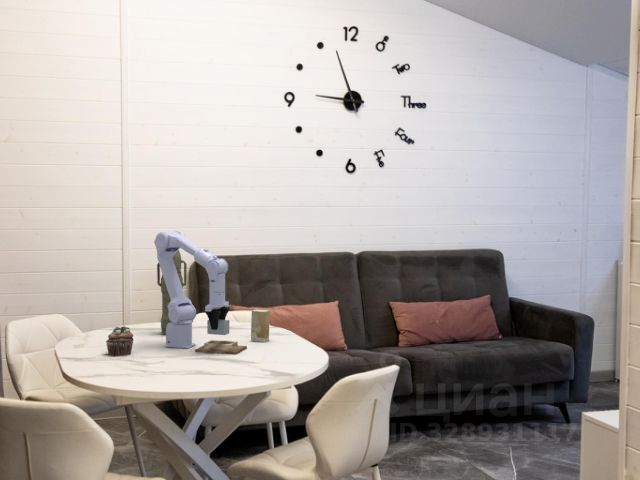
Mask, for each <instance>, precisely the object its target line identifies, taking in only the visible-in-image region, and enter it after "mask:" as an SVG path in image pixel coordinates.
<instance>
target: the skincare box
mask: <svg viewBox="0 0 640 480" xmlns="http://www.w3.org/2000/svg"><path fill="white" fill-rule="evenodd" d="M270 314H271V310H270V309H269V310H268V309H267V310H266V309H253V310H251V317H250V318H251V324H250V329H251V330H250V341H251V342H258V343H259V342H260V343H266V342H269V341H270V319H271V318H270V317H271V315H270Z"/></svg>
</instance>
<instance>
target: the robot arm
mask: <svg viewBox="0 0 640 480" xmlns="http://www.w3.org/2000/svg"><path fill="white" fill-rule="evenodd" d="M153 242H154V247H155V249H156V256H157V261H158V262H157V263H159V265H160V272H161V273H162V274H163V277H164V280H165V283H166V287H167V290H168V293H169V296H170V299H171V302H170V303H169V305H168V306H167V307H168V311H169V313H168V316H169V319H170V321H171V322H172V323H168V324H167V327H166V335H165V346H164V347H165V348H178V349H190V348H191V347H194V346H197V343H196V342H195V343H193V323H194V320H195V319H196V317H197V309H196V308H195V306H194V305H193V303H192V301H191V299H189V297H187V296H186V295H185V292H184V288H183V289H182V286H181V282H180V279H179V276H178V273H177V270H176V267H175V264H174V261H173V256H174V254H175V253H176V252H177V251H178V250H179V251H180V249H181V250H183V251H185V252H186V253H188V254H189V255H191V256H193V259H194V261H195V262H196V263H197V264H199V266H202V267H203V268H204V269H205V271H206V273H207V274H208V279H209V303H208V304H207V305H205V306H204V307H205V308H204V309H205V310H204V311H205V314H206V316H207V319H208V320H209V322H210V325H211V329H213V330H217V328H218V320H219V319H220V320H226V317H227V315H228V313H229V311H230V308H229V306H230V305H229V304H230V302H229V301H226V273H227V272H228V271H229V263H228V262H227V260H226V258H218V256H217V255H214V254H213V253H211V252H210V251H209V248H202V247H201V248H199V247H198V246H196V245H195V244H194V243H193V242H191V240H189V239H188V238H186V235H185V234H183V233H182V232H181V231H168V232H166V231H165V232H162V231H160V232H158V233H157V234H156V236H155V239H154V241H153Z"/></svg>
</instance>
